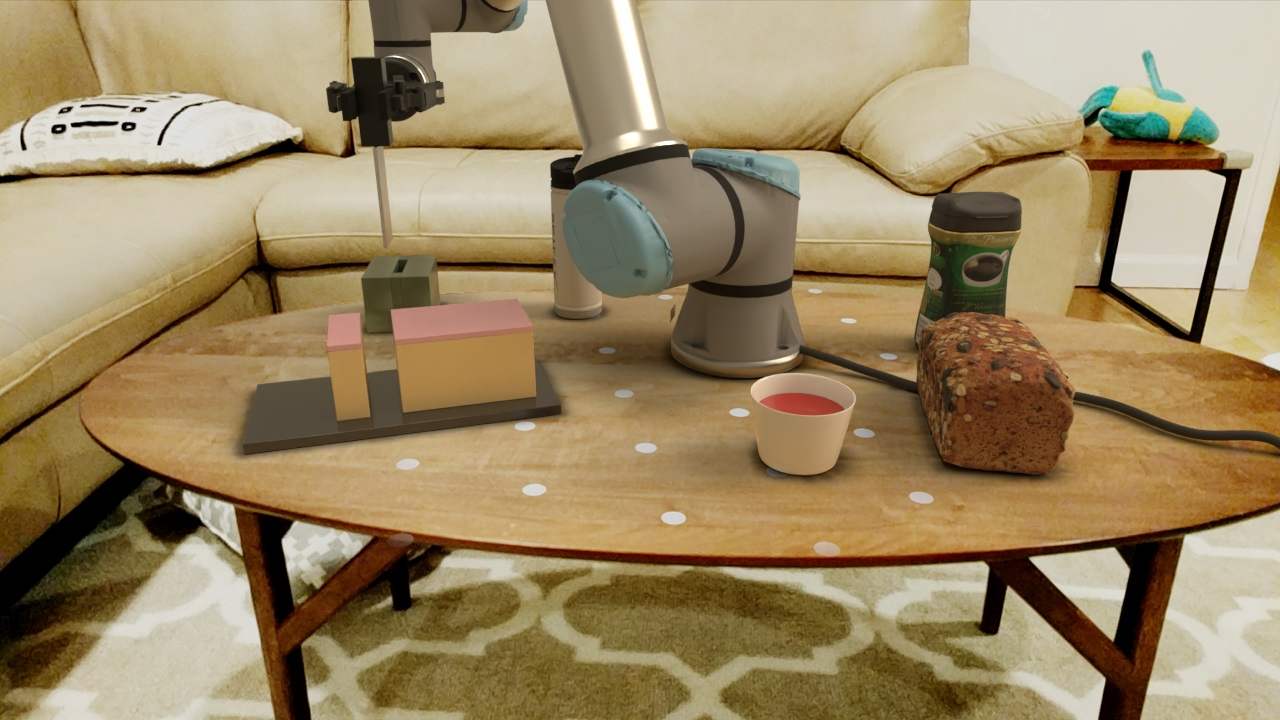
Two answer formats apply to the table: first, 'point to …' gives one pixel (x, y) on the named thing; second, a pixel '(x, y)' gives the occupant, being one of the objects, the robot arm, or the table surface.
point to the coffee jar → (969, 254)
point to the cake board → (311, 419)
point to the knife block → (398, 287)
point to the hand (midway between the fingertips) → (364, 107)
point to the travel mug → (569, 284)
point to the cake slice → (348, 366)
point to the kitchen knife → (374, 127)
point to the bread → (993, 394)
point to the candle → (800, 421)
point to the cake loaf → (463, 354)
